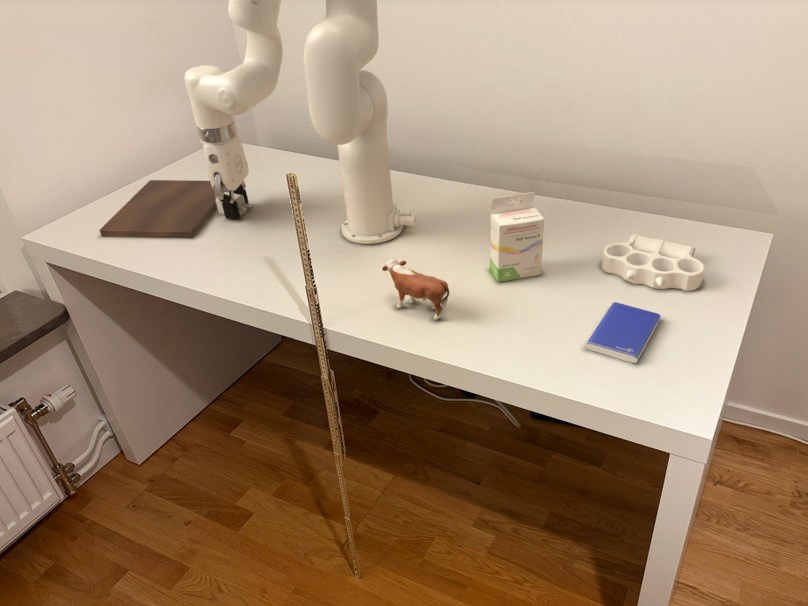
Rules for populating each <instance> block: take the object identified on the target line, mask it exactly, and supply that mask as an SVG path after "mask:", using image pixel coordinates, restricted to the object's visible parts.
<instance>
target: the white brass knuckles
mask: <svg viewBox="0 0 808 606" xmlns="http://www.w3.org/2000/svg"><path fill="white" fill-rule="evenodd" d="M695 251H696V247H695V246H693V245H686V244H681V243H676V242H671V241H667V240H665V239H657V238H653V237H648V236H644V235H643V236H642V235H639V234H636V233H634V234H632V235H631V236H630V238H629V240H628V241H626V242H614V243H609V244H608V245H606V246H604V248H603V251H602V257H601V268H602V271H604V272H605V273H607V274H611V275H616V276H619V277H621V278H623V280H625V281H627V282H629V283H631V284H634V285H644V286H648V287H650V288H652V289H659V290H665V289H666V290H667V289H678V290H682V291H685V292H690V291H695V290H697V289H698V288H700V287H701V284H702V281H703V277H704V273H705V265H704V264H703V263H702V262H701V260H699V259H697V258H694V255H695V253H696V252H695Z"/></svg>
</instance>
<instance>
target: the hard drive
mask: <svg viewBox="0 0 808 606" xmlns="http://www.w3.org/2000/svg"><path fill="white" fill-rule="evenodd" d="M660 321H661V314H659V313H657V312H654V311H650V310H646V309H642V308H639V307H635V306H631V305H628V304H624V303H620V302H616V301H613V302H612V304H611V305H610V307H609V308H608V310H607V311H606V313H605V314H604V316H603V317H602V319H601V321H600V322H599V323H598V325H597V326H596V328H595V330H594V331H593V332H592V334H591V336H590V337H589V338H588V340H587V341H586V346H585V348H586V349H587V350H589V351H592V352H595V353H598V354H602V355H605V356H608V357H612V358H615V359H618V360H621V361H625V362H627V363H632V364H637V363H638V361H639V359H640V358H641V355H642V354H643V352H644V350H645V348H646V347H647V344H648V342H649V341H650V339H651V337H652V335H653V333H654V332H655V330H656V328H657V326H658V324H659V322H660Z"/></svg>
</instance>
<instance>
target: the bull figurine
mask: <svg viewBox="0 0 808 606" xmlns="http://www.w3.org/2000/svg"><path fill="white" fill-rule="evenodd" d="M406 264H407V260H401V261H398V260H397V259H396V258H392V259H389V260H388V261H387V262H386V265H384V266H382V268H381V270H382V271H383V272H386V271H387V272H388V273H389V274H390V277H391V279H392V281H393V283H394V288H395V289H396V290H397V292H398V303H397V304H396V305H395V308H396V309H397V310H399V309H402V308H403V307H404V303H403V302H404V300H405V297H406V296H409V297H410V300H409V304H410V305H411V304H414V303H416V302H417V300H422V301H423V302H426V300H429V301H430V302H431V303H432V306H430V310H432V311H435V315H434V317H433V318H432V319H433V320H434V321H438V320H439V319H441V317H442V316H441V312H442V311H443V308H445V307H446V306H447V303H448V297H450V289H449V284H448V282H447V281H445V280H443V279H440V278H438V277H437V278H436V277H435V276H433V275H431V276H430V275H425V274H423V273H420V272H416V271H415V270H413V269H410V268H406V267H405V265H406ZM444 296H445V297H444Z"/></svg>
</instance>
